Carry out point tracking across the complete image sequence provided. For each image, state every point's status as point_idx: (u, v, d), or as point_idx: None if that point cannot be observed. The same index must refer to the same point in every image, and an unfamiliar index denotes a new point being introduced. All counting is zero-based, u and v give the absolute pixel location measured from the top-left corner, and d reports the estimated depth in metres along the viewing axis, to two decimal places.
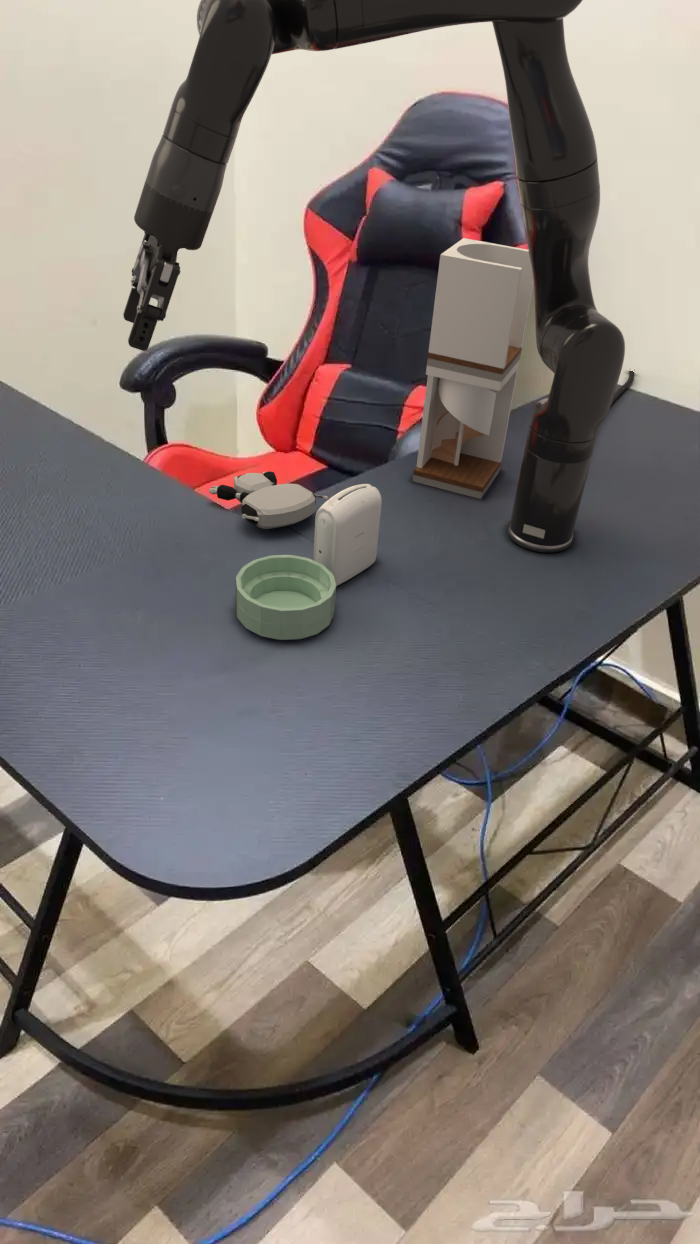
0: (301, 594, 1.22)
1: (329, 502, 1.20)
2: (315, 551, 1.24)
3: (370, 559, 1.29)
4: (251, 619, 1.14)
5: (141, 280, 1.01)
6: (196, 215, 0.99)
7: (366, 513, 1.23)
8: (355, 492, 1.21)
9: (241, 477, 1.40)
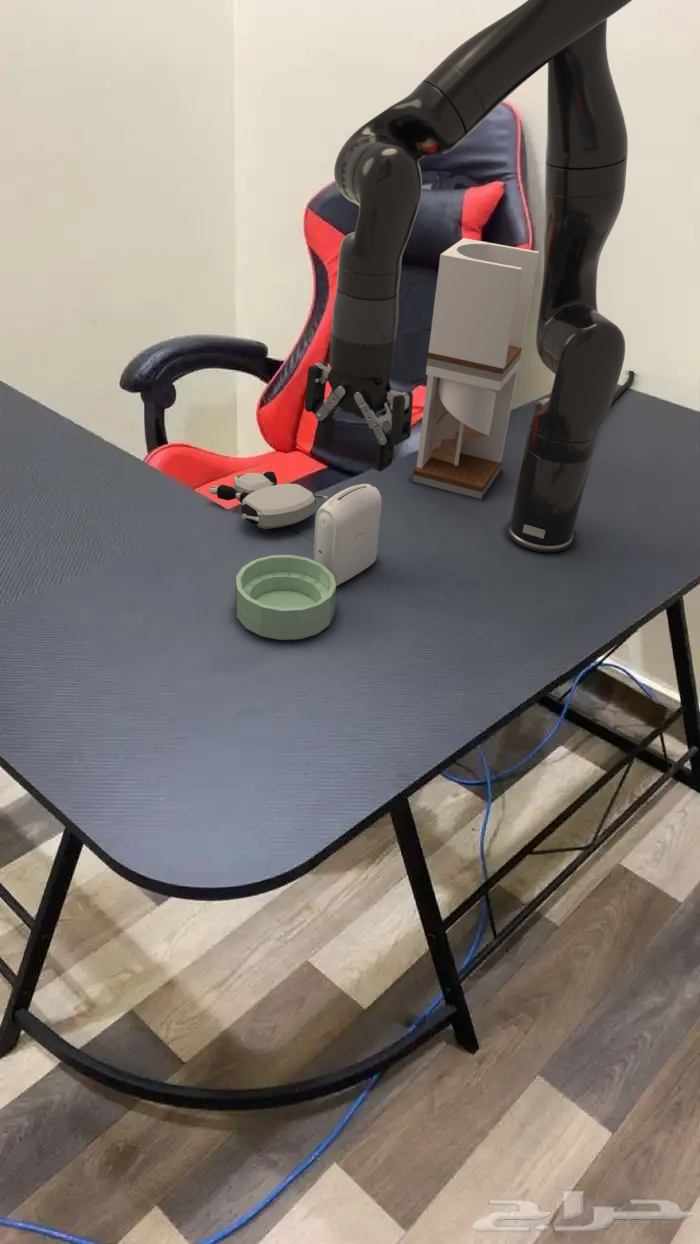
0: (301, 594, 1.22)
1: (329, 502, 1.20)
2: (315, 551, 1.24)
3: (370, 559, 1.29)
4: (251, 619, 1.14)
5: (373, 418, 1.12)
6: (395, 342, 1.09)
7: (366, 513, 1.23)
8: (355, 492, 1.21)
9: (241, 477, 1.40)
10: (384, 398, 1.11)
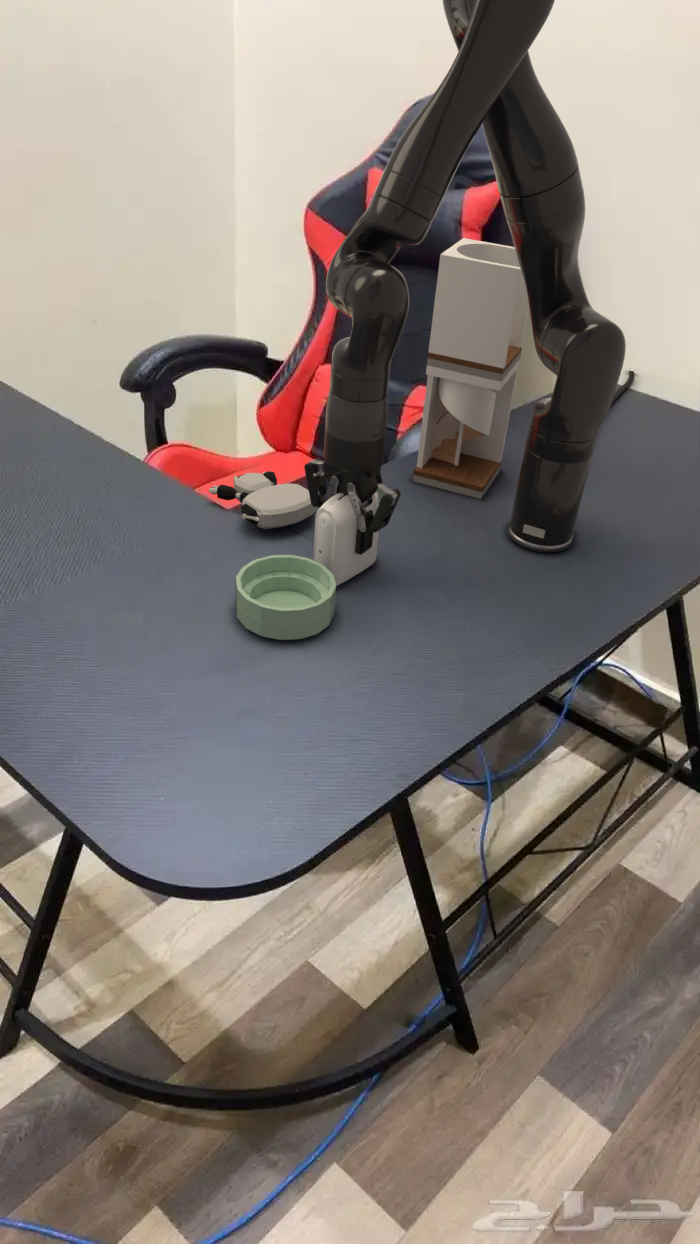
0: (301, 594, 1.22)
1: (329, 502, 1.20)
2: (315, 551, 1.24)
3: (370, 559, 1.29)
4: (251, 619, 1.14)
5: (359, 508, 1.20)
6: (385, 437, 1.16)
7: None
8: None
9: (241, 477, 1.40)
10: (375, 488, 1.18)
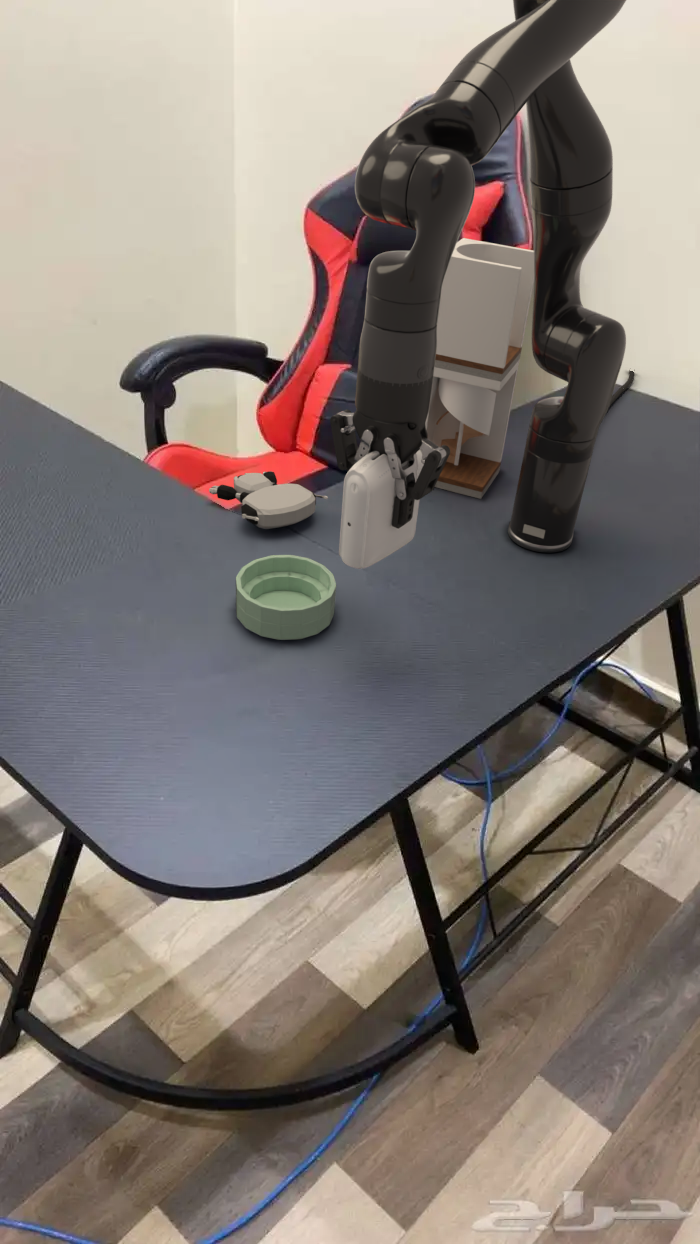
0: (301, 594, 1.22)
1: (362, 462, 0.97)
2: (343, 524, 1.01)
3: (408, 535, 1.06)
4: (251, 619, 1.14)
5: (399, 470, 0.97)
6: (432, 380, 0.94)
7: None
8: None
9: (241, 477, 1.40)
10: (419, 444, 0.95)
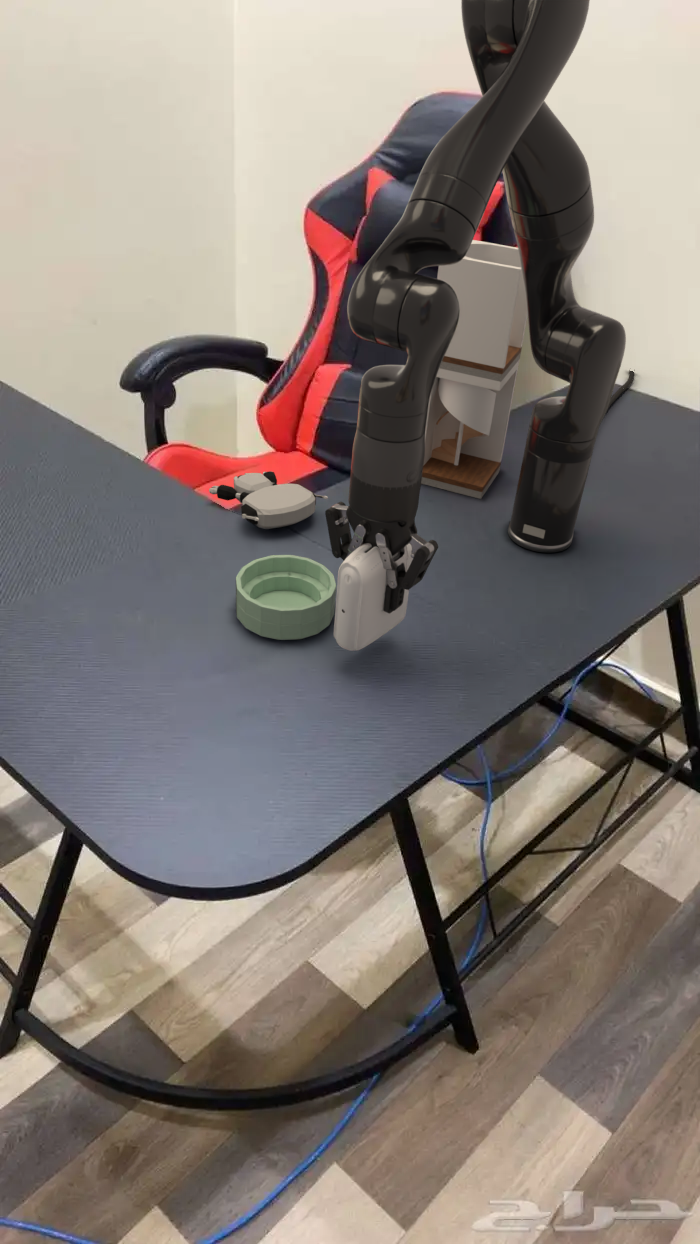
0: (301, 594, 1.22)
1: (355, 555, 1.03)
2: (337, 610, 1.07)
3: (400, 617, 1.12)
4: (251, 619, 1.14)
5: (390, 562, 1.03)
6: None
7: None
8: None
9: (241, 477, 1.40)
10: (409, 540, 1.01)
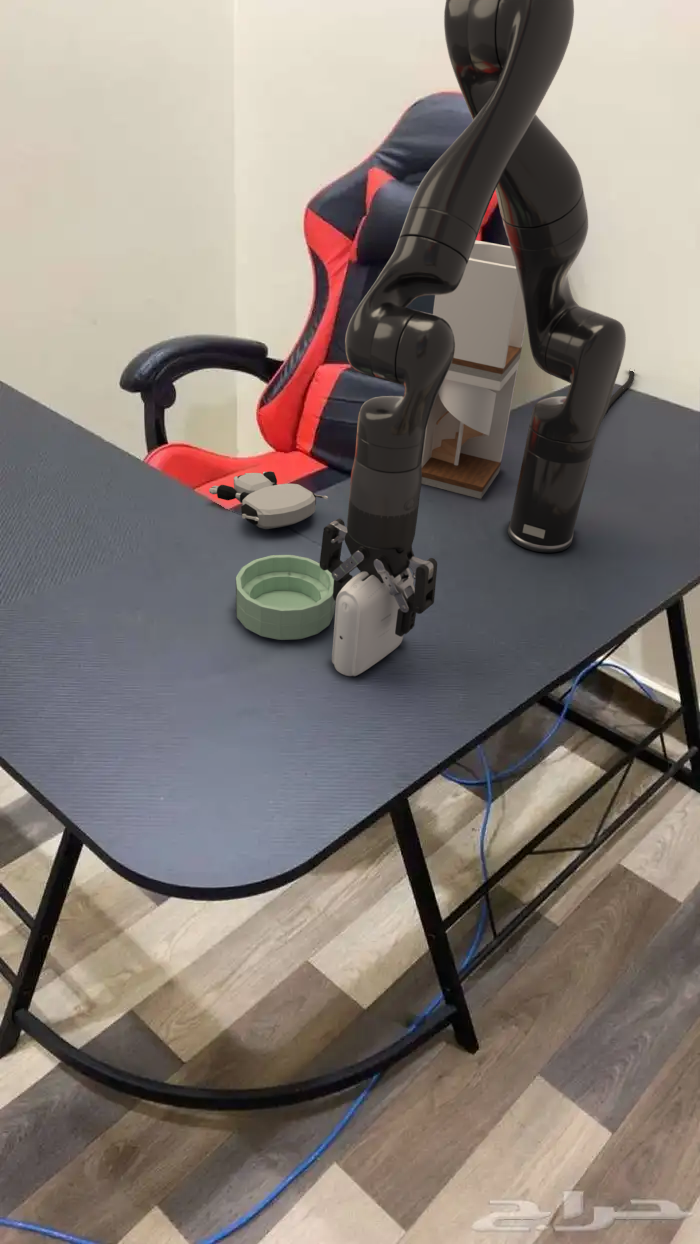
0: (301, 594, 1.22)
1: (352, 583, 1.05)
2: (335, 636, 1.09)
3: (396, 642, 1.14)
4: (251, 619, 1.14)
5: (394, 586, 1.04)
6: None
7: None
8: None
9: (241, 477, 1.40)
10: (406, 566, 1.03)
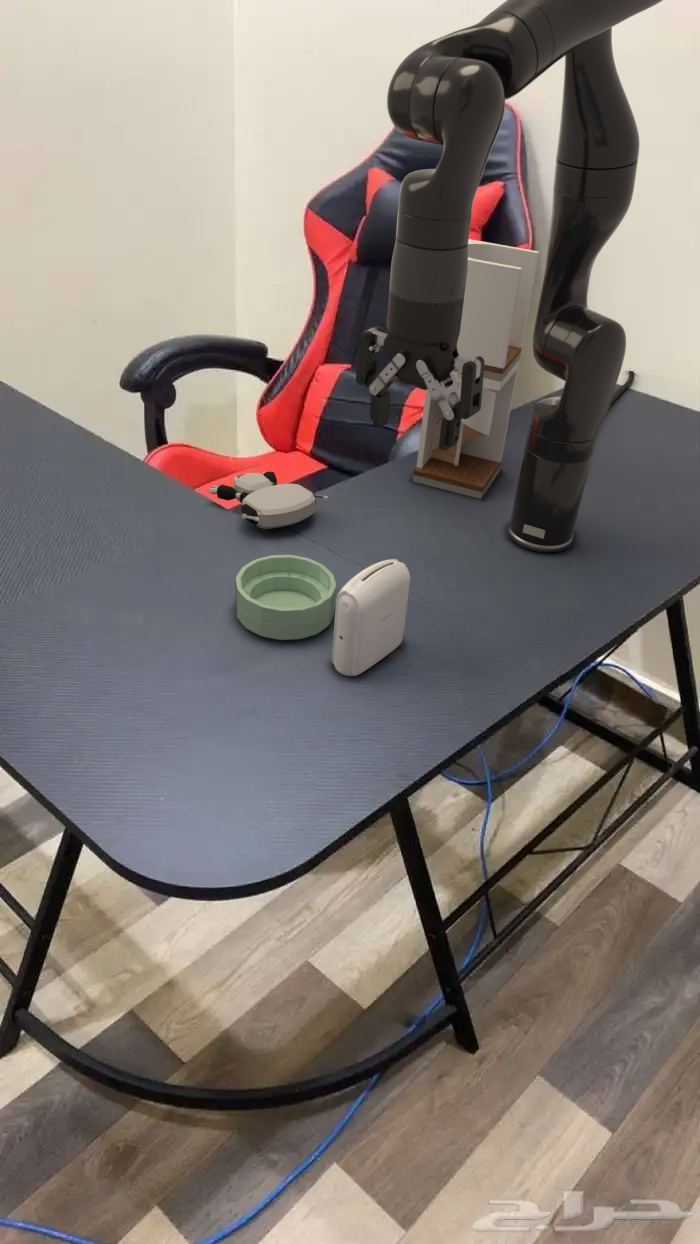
0: (301, 594, 1.22)
1: (352, 583, 1.05)
2: (335, 636, 1.09)
3: (396, 642, 1.14)
4: (251, 619, 1.14)
5: (439, 389, 0.97)
6: (463, 300, 0.95)
7: (393, 594, 1.08)
8: (381, 571, 1.07)
9: (241, 477, 1.40)
10: (451, 366, 0.96)
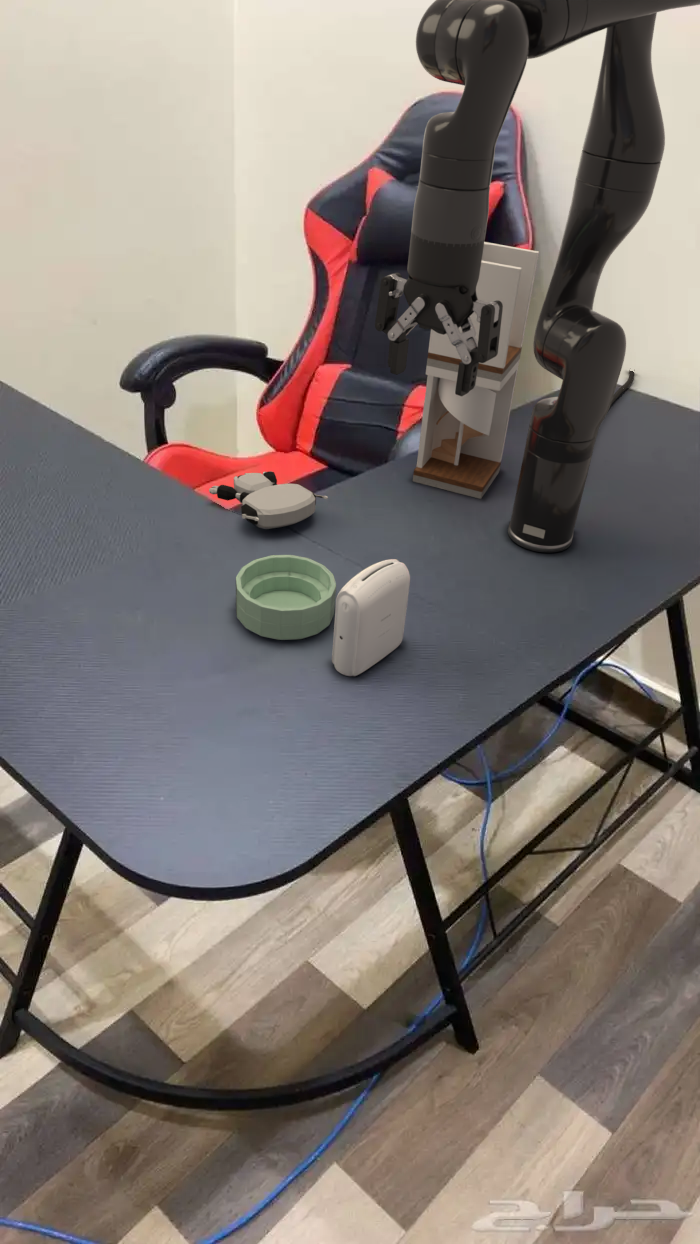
0: (301, 594, 1.22)
1: (352, 583, 1.05)
2: (335, 636, 1.09)
3: (396, 642, 1.14)
4: (251, 619, 1.14)
5: (457, 333, 0.99)
6: (483, 244, 0.96)
7: (393, 594, 1.08)
8: (381, 571, 1.07)
9: (241, 477, 1.40)
10: (470, 309, 0.98)
